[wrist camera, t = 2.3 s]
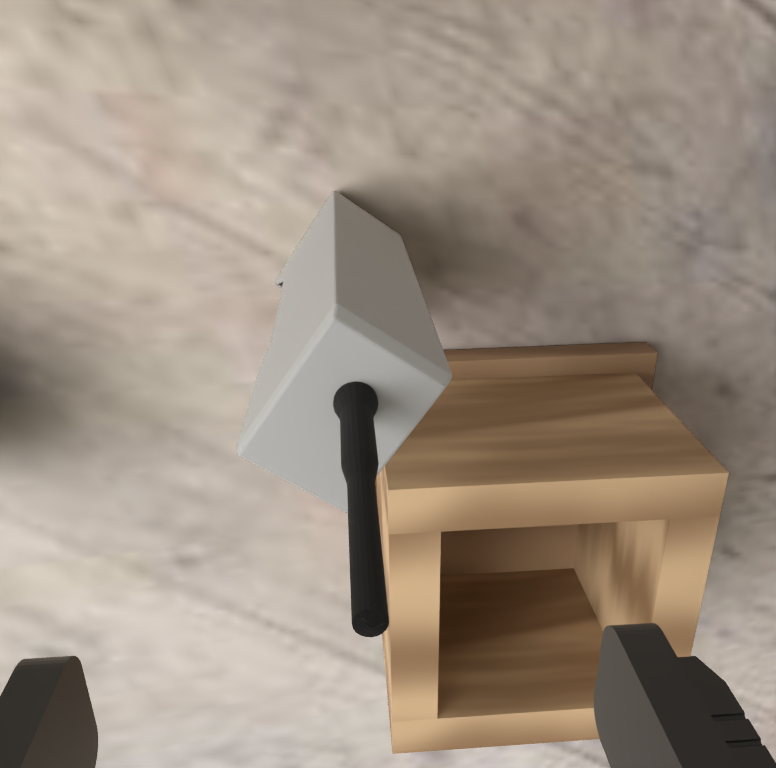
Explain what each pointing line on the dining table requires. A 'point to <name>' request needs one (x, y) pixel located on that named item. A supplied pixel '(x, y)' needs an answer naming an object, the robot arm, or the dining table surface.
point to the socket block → (536, 541)
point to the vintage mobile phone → (346, 380)
